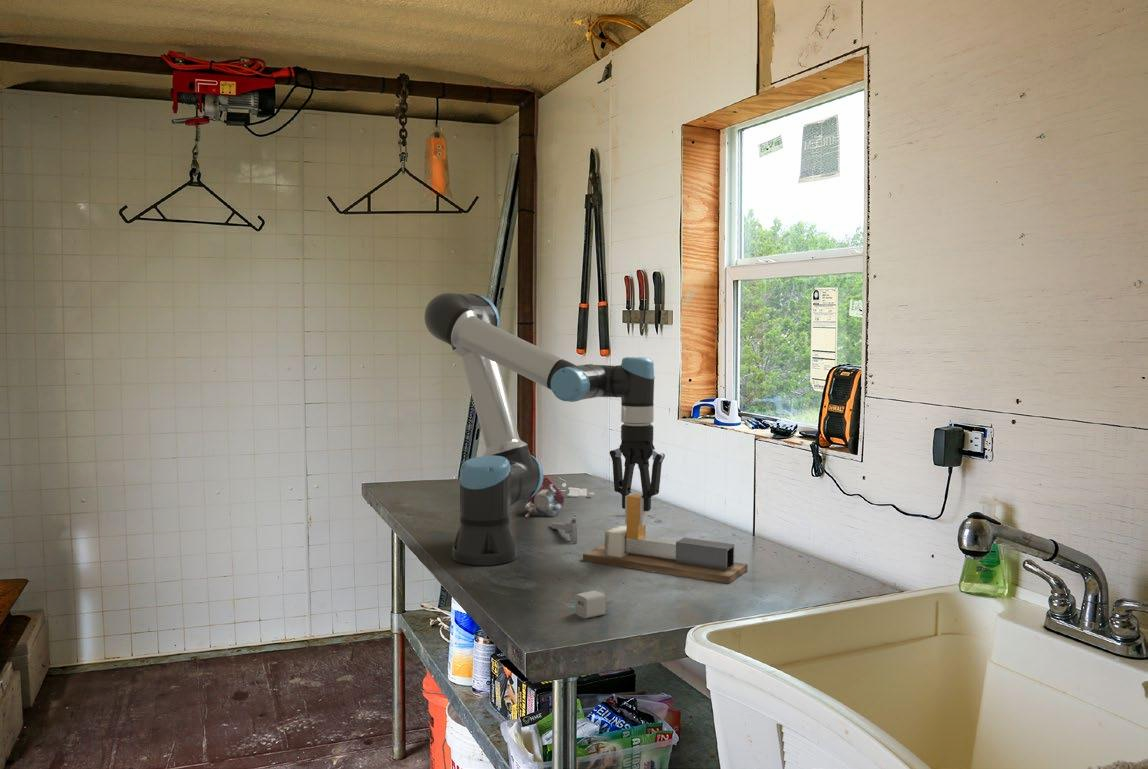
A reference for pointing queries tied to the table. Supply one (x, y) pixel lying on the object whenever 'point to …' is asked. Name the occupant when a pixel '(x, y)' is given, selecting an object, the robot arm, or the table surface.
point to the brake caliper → (545, 500)
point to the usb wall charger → (591, 604)
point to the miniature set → (576, 491)
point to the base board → (664, 565)
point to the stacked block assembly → (636, 534)
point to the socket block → (615, 541)
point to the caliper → (568, 529)
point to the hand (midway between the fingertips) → (636, 523)
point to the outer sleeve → (705, 554)
